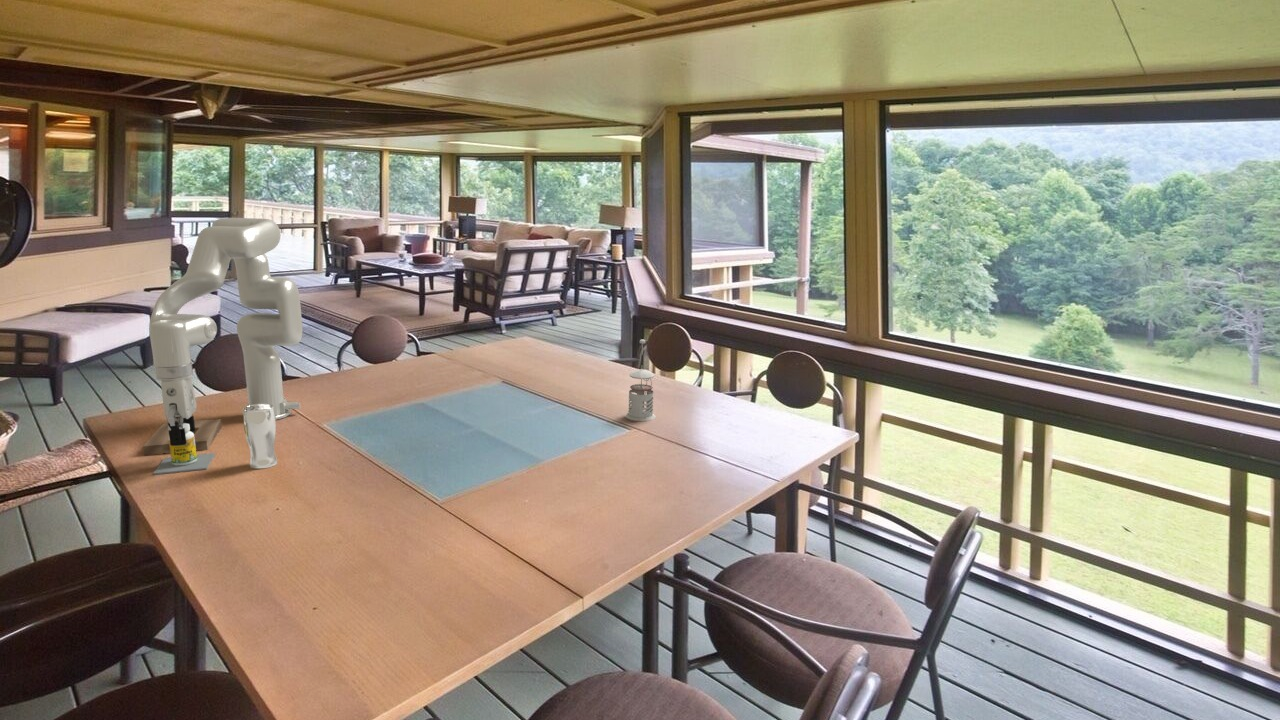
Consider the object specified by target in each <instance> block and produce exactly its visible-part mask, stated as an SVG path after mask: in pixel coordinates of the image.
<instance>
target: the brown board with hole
mask: <svg viewBox="0 0 1280 720" xmlns="http://www.w3.org/2000/svg"><path fill="white" fill-rule="evenodd" d="M178 423H179V421H178ZM194 423H195V431H194V432H193V434H194V437H195V445H196V450H200V451H208V450H209V448H210V446H211V445H212V443H213V442H214V440H215V439H214V438H216V437H217V435H218V434H217V433H219V432H220V431H219V430H221V429H222V419H221V418H216V419H203V420H194ZM168 438H169V430H168V422H163V423H162V425H160V427H158V429H157V430H156V431H154V434H152V436H151V437H150V438H149V439H148V440H147V441H146V442H145V443H144V444H143V454H144V456H151V455H150V454H155V455H164V454H163V453H166V454H171V453H170V446H169V439H168Z"/></svg>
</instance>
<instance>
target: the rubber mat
mask: <svg viewBox="0 0 1280 720" xmlns="http://www.w3.org/2000/svg"><path fill="white" fill-rule="evenodd" d="M215 455H216V452H211V453H202V454H197V461H196V462H194V463H192V464H189V465H184V466H176V465H173V464H172V460H171V456H168V457H164V458H163V459H162V461H161V462H160V463H159V464H158V466H157V467H156V469H155V470H154V472H153V473H152V474H153V476H155V475H166V474H176V473H185V472H186V473H187V472H195V471H204V470H207V469H208V468H209V466H210V465H211V463H212V462H213V459H214V458H215Z"/></svg>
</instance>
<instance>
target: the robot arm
mask: <svg viewBox="0 0 1280 720" xmlns="http://www.w3.org/2000/svg"><path fill="white" fill-rule="evenodd" d="M280 240H281V229H280V227H279V225H278V224H277V222H275V221H274V220H272V219H269V218H268V219H267V218H258V217H257V218H255V217H254V218H252V217H251V218H248V217H223V218H218V219H215V221H214V222H212V226H208V227H204V228H203V229H202V230H200V232H199V234H198V235H197V239H196V241H195V244H194V247H193V251H192V254H191V257H190V261H189V264H188V266H187V269H186V271H185V272H186V273H184V275H183V276H182V277H180V278H179V279H177V280H176V281H174V282H173V283H172V284H171V285H170V286H169V287H167V288H166V289H165V290H164V291H163V292H162V293H161V294H160V295H159V297H158V298H157V299H156V302H155V303H154V306H153V309H152V313H151V315H150V316H151V317H150V320H149V323H148V324H149V325H148V331H149V339H150V344H151V346H150V347H151V352H152V360H153V365H154V367H153V368H154V373H155V378H156V379H155V380H157V381H160V382H161V383H160V384H161V385H160V386H161V396H162V404H163V405H162V406H163V413H164V418H165V419H166V420H167V423H168V430H169V437H170V444H171V446H175V445H185V444H186V443H187V442H186V435H185V428H183V423H187V424H189V425H190V430H189V431H191V432H194V431H195V423H194V421H195V417H194V413H195V412H196V410H197V407H198V406H197V401H196V395H195V390H194V384H193V380H192V377H193V376H194V371H193V369H194V368H193V363H192V355H191V349H190V347H193V346H201V345H205V344H209V343H210V342H211V341H213V340H214V338H215V337H216V335H217V332H218V326H217V323H216V322H215V320H214V319H213V318H211V316H207V315H205V314H196V313H195V314H188V313H179V311H181V309H182V307H184V306H185V305H187V303H189V302H191V301H193V300H195V299H198V298H200V297H203V296H206V295H208V294H210V293H212V292H216V291H217V290H219V289H221V288H222V287H223V285H224V283H225V280H226V277H227V273H228V269H229V266H230V263H231V261H232V260H233V262H234V264H235V270H236V280H237V289H238V296H239V300H240V303H241V305H242V306H243V307H245V308H247V309H251V310H272V311H273V310H274V311H275V310H277V312H278V313H268V312H267V313H266V312H264V313H263V312H261V313H260V312H253V313H248V314H245V315H242V316H241V317H240V318H239V319H238V321H237V324H236V333H237V336H238V339H239V343H240V345H241V350H242V355H243V362H244V364H243V365H244V373H245V374H244V375H245V383H246V392H247V400H248V401H247V402H248V403H247V404H248V405H253V404H261V403H267V404H272V405H273V409H274V414H275V421H277V420H280V419H284V418H287V417H289V416H290V415H291V410H292V409H293V410H300V409H301V402H297V401H287V398H286V397H284V391H283V390H284V389H283V378H282V367H281V365H282V364H281V358H280V355H279V353H278V352H277V351H276V349H275V348H274V347H273V346H279V347H282V346H283V347H288V346H289V347H292V346H296V345H298V344H299V343H300V342H301V340H302V337H303V330H304V329H303V319H302V308H301V297H300V290H299V288H298V286H297V284H296V282H295V281H294V280H293V279H291V278H289V277H281V276H280V277H279V276H272V275H271V274H270V272H271V271H270V265H269V261H268V257H267V255H266V253H268V252H271V251H272V250H274V249H275V248H276V247H277V246H278V244H279V243H280ZM178 422H179V423H178Z"/></svg>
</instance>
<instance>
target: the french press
mask: <svg viewBox="0 0 1280 720" xmlns="http://www.w3.org/2000/svg"><path fill="white" fill-rule="evenodd" d="M639 344H641V354H643V352H644V351H643V349H644V348H643V347H644V346H643V345H644V344H646V340H645V339H640V340H639ZM628 376H629V378H632V379H638V380H640V383H637V384H632V385H630V386H629V388H630V389H629V390H628V412H627V413H626V414H625V418H626V419H628V420H631V421H635V422H648V421H653V420H655V419H656V418H657V416H656V415H655V414H654V391H653V390H652V389H653V381H652V379H653V378H654V377H655V376H656V375H655V374H654V373H653V372H651V371H650V370H648V369H643V366H641V368H640V369H636V370H633V371H630V372H629V373H628ZM649 379H650V384H648V381H649ZM643 380H644V381H645V382H646V383H645V384H643V383H642V382H643Z"/></svg>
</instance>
